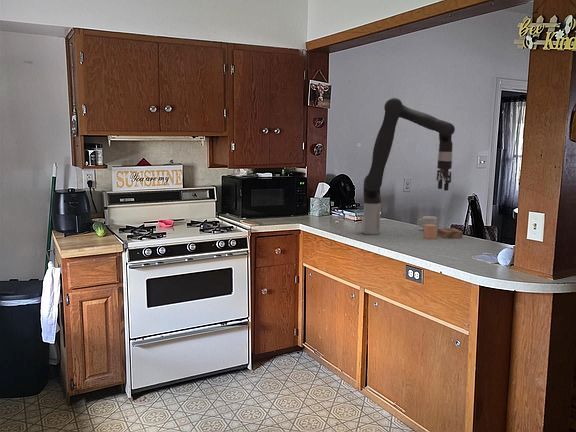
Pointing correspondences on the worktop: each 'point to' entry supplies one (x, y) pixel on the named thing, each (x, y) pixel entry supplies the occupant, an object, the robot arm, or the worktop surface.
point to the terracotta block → (430, 231)
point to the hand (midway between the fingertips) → (443, 189)
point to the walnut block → (449, 233)
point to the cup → (428, 220)
